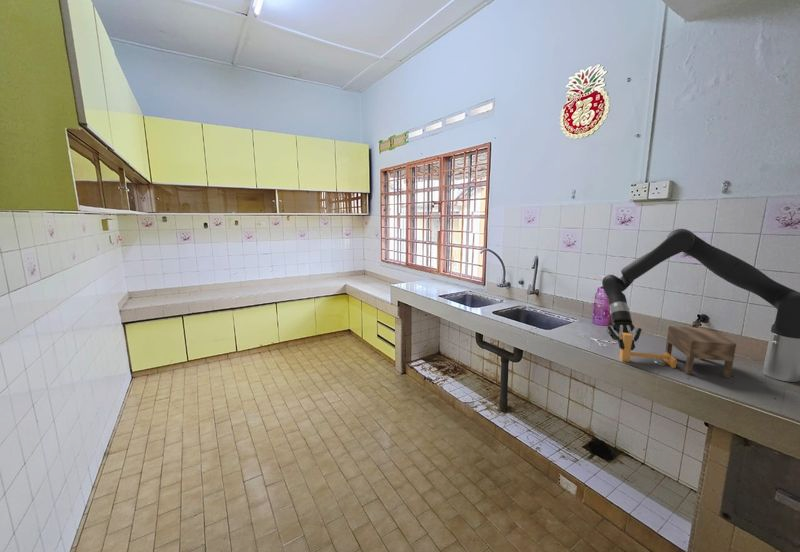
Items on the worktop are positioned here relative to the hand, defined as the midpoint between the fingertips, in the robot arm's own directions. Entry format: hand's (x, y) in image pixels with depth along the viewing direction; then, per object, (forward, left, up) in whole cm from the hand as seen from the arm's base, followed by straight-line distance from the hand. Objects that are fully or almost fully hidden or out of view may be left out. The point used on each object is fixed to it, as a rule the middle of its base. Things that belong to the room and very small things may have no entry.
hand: (627, 349), depth 142 cm
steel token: (-13, -2, -6) cm, 15 cm away
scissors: (+6, -25, -7) cm, 27 cm away
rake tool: (-8, -2, -6) cm, 10 cm away
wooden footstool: (-26, -2, -6) cm, 26 cm away
